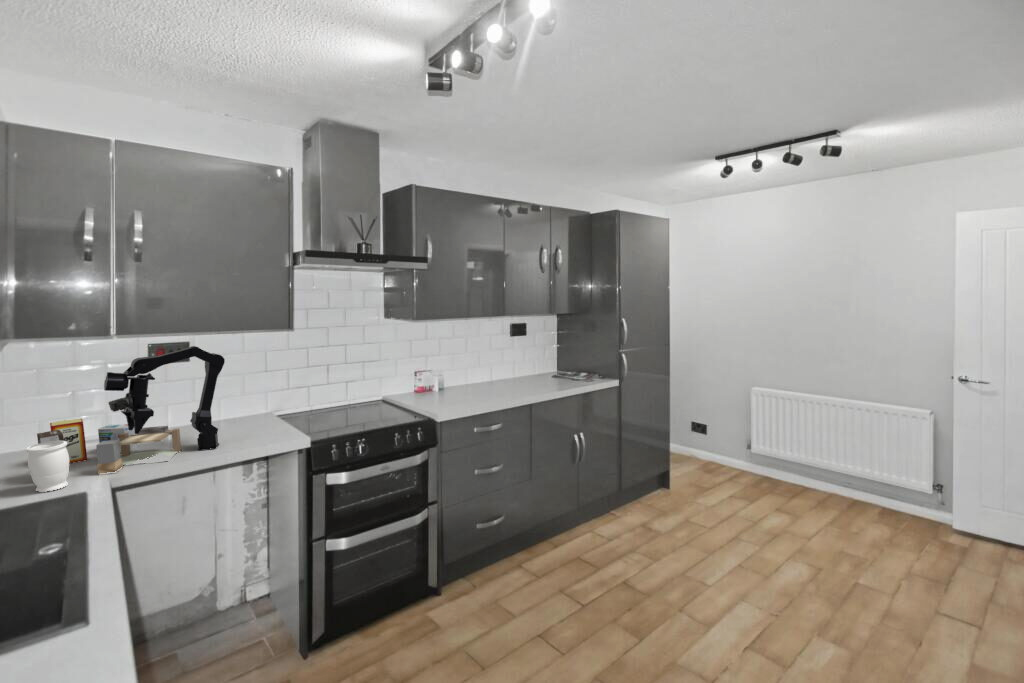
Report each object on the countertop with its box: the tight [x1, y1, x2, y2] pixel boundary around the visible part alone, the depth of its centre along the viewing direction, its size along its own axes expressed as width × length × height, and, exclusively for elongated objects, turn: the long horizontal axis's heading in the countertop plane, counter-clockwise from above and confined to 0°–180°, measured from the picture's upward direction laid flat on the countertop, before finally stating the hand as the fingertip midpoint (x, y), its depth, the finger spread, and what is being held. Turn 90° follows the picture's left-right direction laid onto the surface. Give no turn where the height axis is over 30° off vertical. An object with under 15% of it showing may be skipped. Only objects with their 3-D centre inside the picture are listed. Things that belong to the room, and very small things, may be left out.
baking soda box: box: [49, 417, 88, 464], centre depth 202 cm, size 10×6×16 cm
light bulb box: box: [97, 423, 138, 453], centre depth 213 cm, size 11×7×11 cm, turn 92°
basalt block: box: [95, 440, 121, 464], centre depth 189 cm, size 5×5×7 cm
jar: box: [25, 441, 70, 493], centre depth 175 cm, size 11×10×15 cm
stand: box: [120, 428, 182, 465], centre depth 204 cm, size 20×15×9 cm
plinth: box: [96, 457, 123, 475], centre depth 190 cm, size 5×5×4 cm
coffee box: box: [36, 430, 64, 444], centre depth 185 cm, size 9×6×16 cm
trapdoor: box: [119, 425, 172, 445], centre depth 205 cm, size 14×14×3 cm
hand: (133, 431), depth 198 cm, fingers open, 6 cm apart
